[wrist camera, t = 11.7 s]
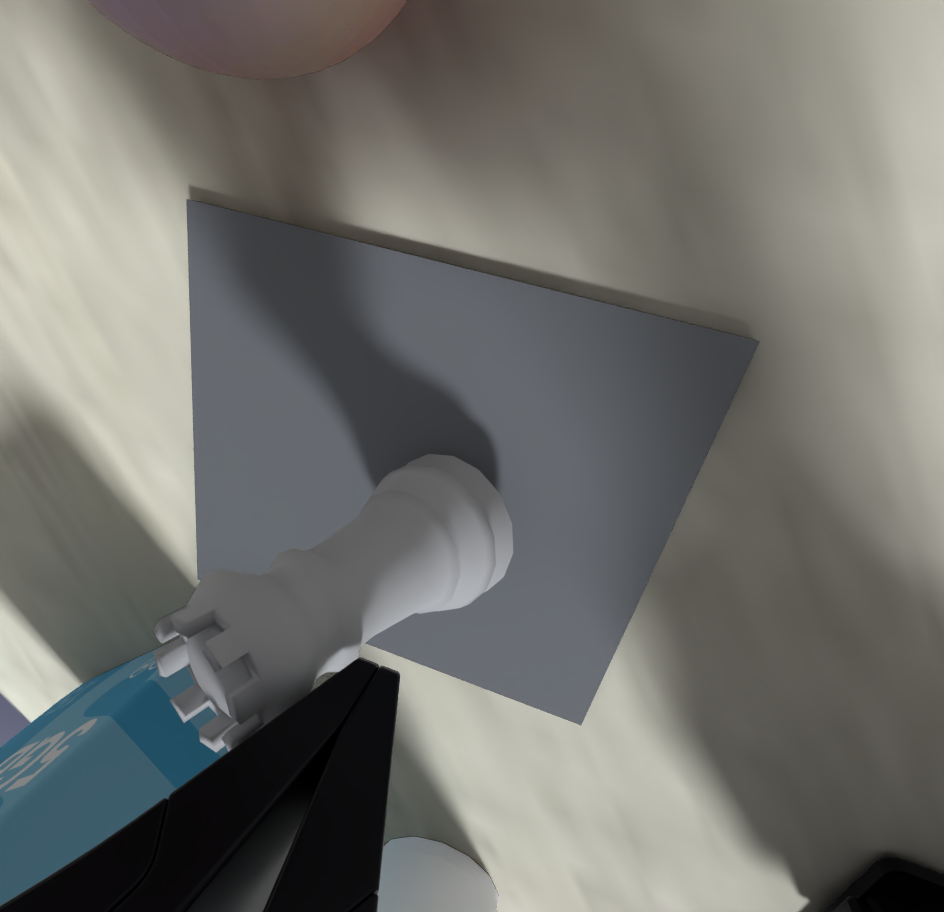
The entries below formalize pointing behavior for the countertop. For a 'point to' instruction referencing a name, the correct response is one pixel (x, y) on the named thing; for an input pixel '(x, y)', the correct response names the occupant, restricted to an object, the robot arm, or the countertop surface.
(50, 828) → the data package
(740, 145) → the countertop surface
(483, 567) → the rook chess piece
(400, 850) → the foam cup
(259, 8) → the decorative fruit
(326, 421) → the mat
